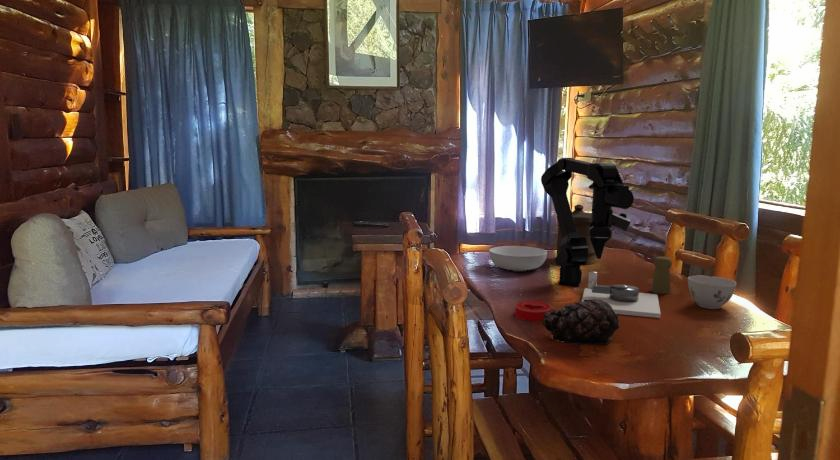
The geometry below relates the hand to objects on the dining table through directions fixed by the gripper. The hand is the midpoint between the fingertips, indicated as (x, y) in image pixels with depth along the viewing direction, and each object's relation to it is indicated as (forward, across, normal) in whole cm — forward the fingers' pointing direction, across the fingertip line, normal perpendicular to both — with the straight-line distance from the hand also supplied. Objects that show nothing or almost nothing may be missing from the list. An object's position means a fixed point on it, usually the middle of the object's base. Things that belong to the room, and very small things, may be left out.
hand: (598, 255), depth 184 cm
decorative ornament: (+12, -29, +16) cm, 36 cm away
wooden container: (+13, +49, +8) cm, 51 cm away
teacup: (+12, -3, -31) cm, 33 cm away
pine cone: (+12, -45, +4) cm, 47 cm away
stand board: (+12, -10, -7) cm, 17 cm away
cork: (+12, +10, -19) cm, 25 cm away
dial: (+10, -8, -5) cm, 14 cm away
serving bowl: (+13, +27, +28) cm, 41 cm away
